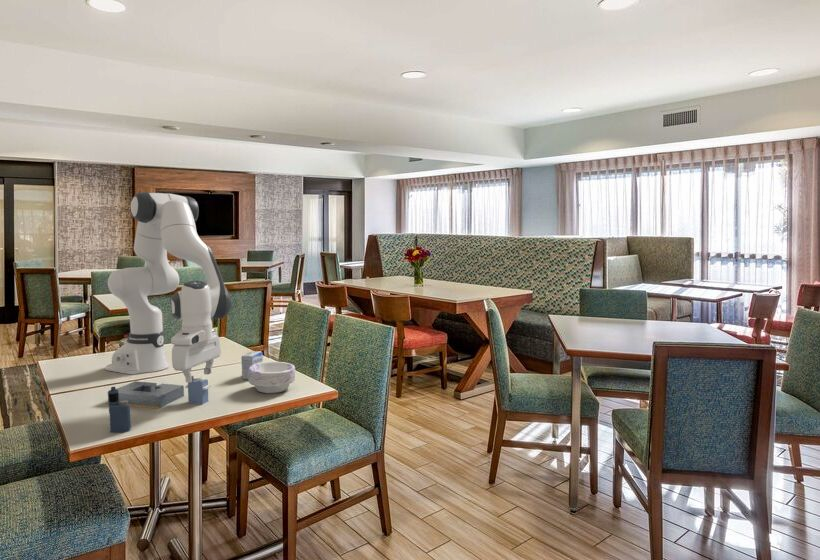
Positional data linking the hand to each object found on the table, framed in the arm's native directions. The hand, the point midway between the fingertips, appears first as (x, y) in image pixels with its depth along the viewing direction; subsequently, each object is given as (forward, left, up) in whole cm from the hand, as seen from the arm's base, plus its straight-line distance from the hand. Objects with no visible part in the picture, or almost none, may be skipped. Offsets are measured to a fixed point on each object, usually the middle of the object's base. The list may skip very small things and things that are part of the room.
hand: (198, 377), depth 168 cm
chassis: (-17, -2, -8) cm, 19 cm away
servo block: (0, 0, -8) cm, 8 cm away
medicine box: (+2, +30, -8) cm, 31 cm away
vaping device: (-6, -26, -8) cm, 28 cm away
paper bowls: (+16, +18, -8) cm, 25 cm away
